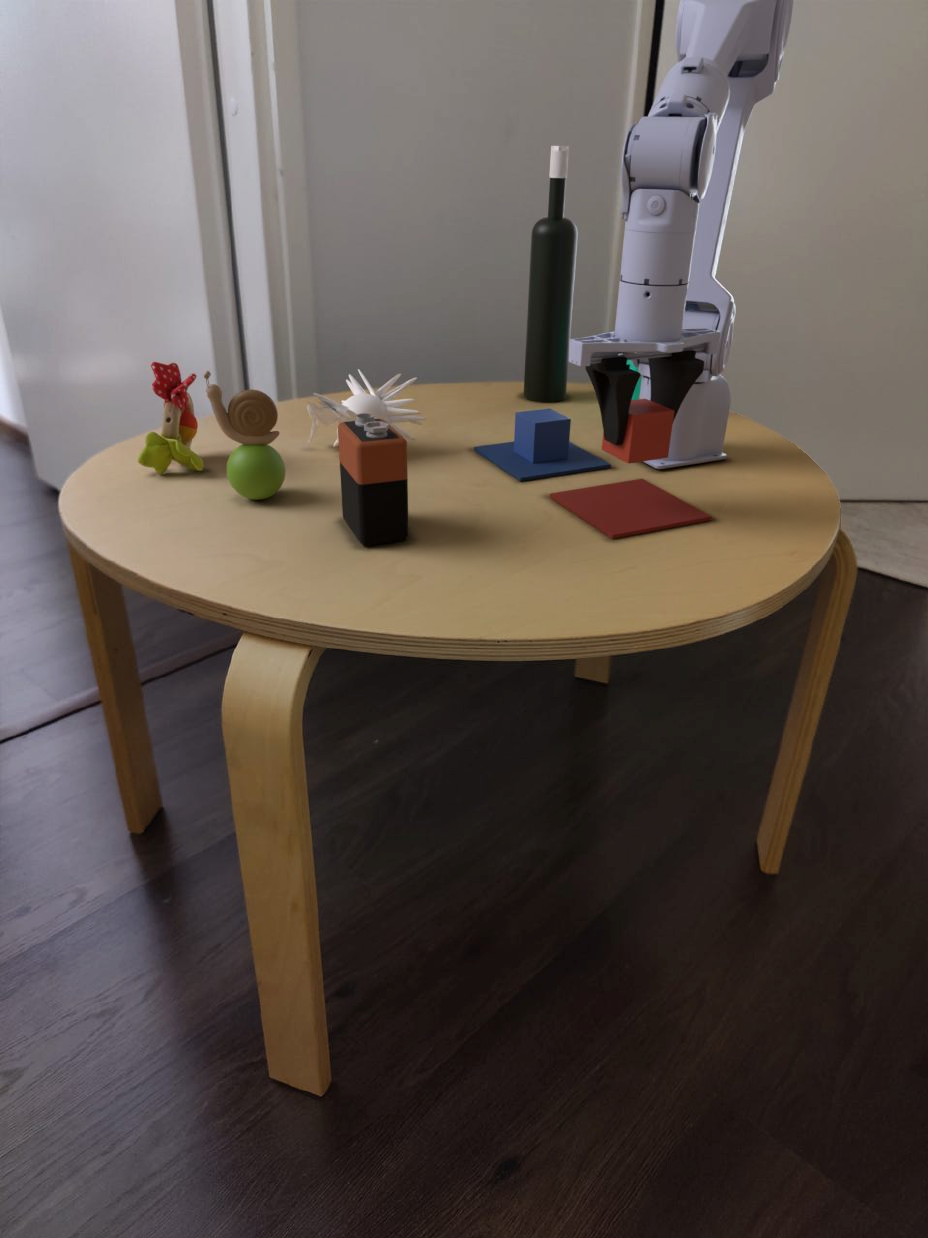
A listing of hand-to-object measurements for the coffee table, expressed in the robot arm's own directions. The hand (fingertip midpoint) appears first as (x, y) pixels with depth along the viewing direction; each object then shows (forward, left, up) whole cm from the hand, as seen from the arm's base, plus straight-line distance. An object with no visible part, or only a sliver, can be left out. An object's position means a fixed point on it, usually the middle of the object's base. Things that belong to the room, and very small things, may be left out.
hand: (635, 438), depth 79 cm
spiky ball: (+18, -27, -7) cm, 33 cm away
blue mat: (0, -16, -7) cm, 17 cm away
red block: (0, 0, -1) cm, 1 cm away
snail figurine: (+32, -17, -7) cm, 37 cm away
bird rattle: (+37, -29, -7) cm, 47 cm away
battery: (+24, -5, -7) cm, 25 cm away
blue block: (0, -16, -6) cm, 17 cm away
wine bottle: (-13, -39, -7) cm, 41 cm away
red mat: (0, 0, -7) cm, 7 cm away
